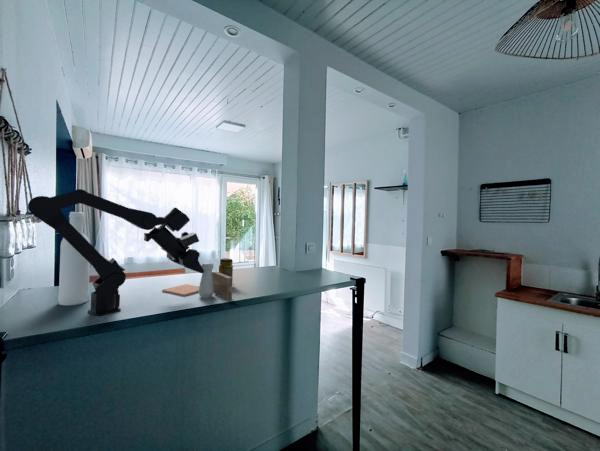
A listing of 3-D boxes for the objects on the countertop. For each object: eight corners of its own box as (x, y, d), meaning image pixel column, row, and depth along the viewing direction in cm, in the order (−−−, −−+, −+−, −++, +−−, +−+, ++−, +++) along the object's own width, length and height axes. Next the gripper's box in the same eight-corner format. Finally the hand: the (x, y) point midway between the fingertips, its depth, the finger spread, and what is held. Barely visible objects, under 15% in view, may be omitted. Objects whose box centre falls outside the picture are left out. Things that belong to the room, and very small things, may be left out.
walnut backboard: (226, 299, 105) (227, 278, 105) (211, 291, 116) (211, 271, 116) (231, 298, 107) (232, 277, 106) (215, 290, 117) (216, 271, 117)
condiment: (233, 284, 131) (234, 258, 130) (232, 288, 122) (234, 260, 122) (216, 284, 129) (217, 257, 129) (215, 288, 121) (216, 260, 120)
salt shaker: (209, 299, 104) (210, 264, 104) (194, 298, 105) (196, 263, 105) (216, 295, 110) (218, 262, 109) (203, 294, 111) (204, 261, 111)
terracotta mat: (184, 296, 107) (184, 294, 107) (162, 291, 112) (162, 289, 112) (207, 290, 117) (207, 288, 117) (186, 285, 123) (186, 284, 123)
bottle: (64, 299, 96) (66, 211, 96) (91, 298, 99) (94, 212, 99) (53, 306, 89) (56, 211, 88) (84, 305, 92) (87, 212, 91)
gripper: (194, 226, 94) (224, 257, 101) (176, 223, 108) (203, 251, 116) (168, 250, 89) (202, 281, 97) (153, 245, 103) (183, 272, 111)
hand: (198, 270), depth 105 cm, fingers open, 9 cm apart
